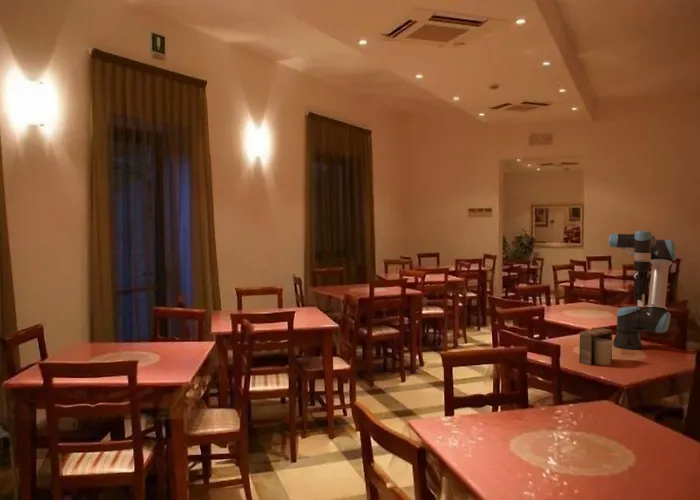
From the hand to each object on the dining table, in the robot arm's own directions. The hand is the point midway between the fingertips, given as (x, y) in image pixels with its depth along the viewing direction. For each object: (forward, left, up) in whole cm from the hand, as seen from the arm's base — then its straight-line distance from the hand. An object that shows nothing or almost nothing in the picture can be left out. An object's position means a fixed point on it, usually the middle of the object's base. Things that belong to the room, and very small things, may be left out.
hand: (640, 306), depth 286 cm
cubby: (+18, -13, -29) cm, 37 cm away
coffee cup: (+18, -9, -30) cm, 36 cm away
